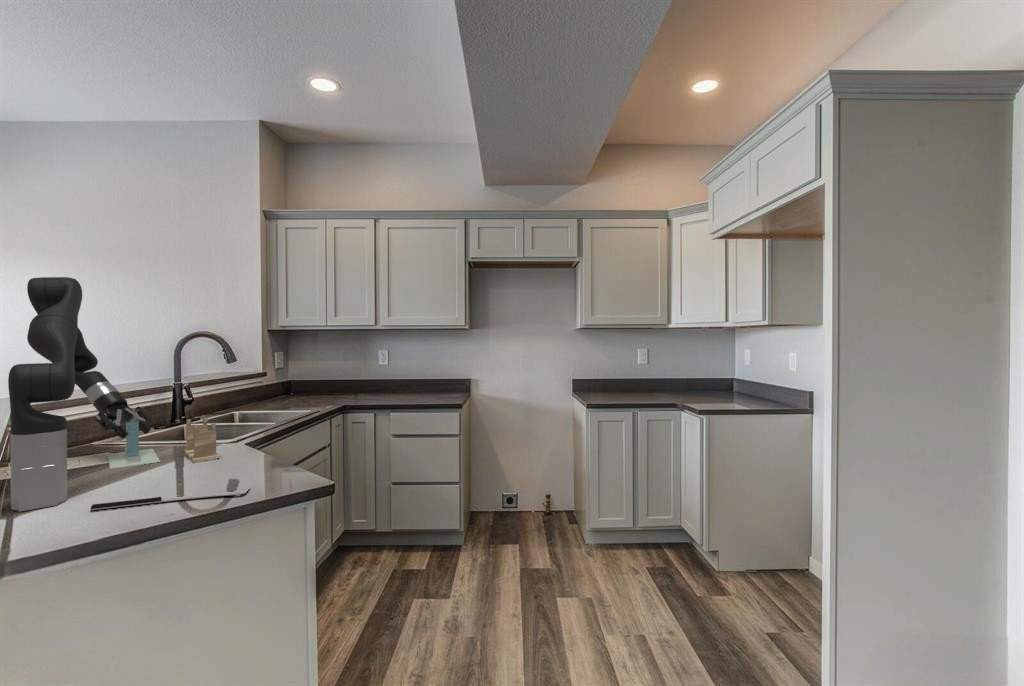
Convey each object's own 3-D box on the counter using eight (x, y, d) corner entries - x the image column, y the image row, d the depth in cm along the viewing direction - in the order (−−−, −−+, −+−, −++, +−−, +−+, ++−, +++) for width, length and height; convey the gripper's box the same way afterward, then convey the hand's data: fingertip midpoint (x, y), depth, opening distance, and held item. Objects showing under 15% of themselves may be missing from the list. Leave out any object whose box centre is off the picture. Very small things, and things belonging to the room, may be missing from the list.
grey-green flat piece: (140, 462, 144) (140, 424, 144) (128, 463, 142) (128, 425, 142) (136, 452, 157) (136, 417, 157) (124, 453, 155) (124, 418, 155)
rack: (218, 459, 148) (218, 423, 148) (193, 463, 143) (192, 426, 143) (208, 449, 162) (207, 417, 162) (184, 452, 157) (183, 419, 157)
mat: (160, 462, 144) (160, 461, 144) (109, 469, 136) (109, 468, 136) (152, 449, 162) (152, 448, 162) (107, 455, 154) (107, 454, 154)
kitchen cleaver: (253, 483, 121) (246, 489, 112) (253, 489, 121) (246, 496, 111) (106, 498, 110) (85, 507, 100) (106, 505, 109) (84, 515, 100)
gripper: (90, 392, 143) (122, 430, 141) (134, 388, 157) (163, 422, 156) (75, 409, 144) (107, 447, 142) (120, 403, 158) (150, 437, 156)
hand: (137, 434), depth 149 cm, fingers open, 7 cm apart
